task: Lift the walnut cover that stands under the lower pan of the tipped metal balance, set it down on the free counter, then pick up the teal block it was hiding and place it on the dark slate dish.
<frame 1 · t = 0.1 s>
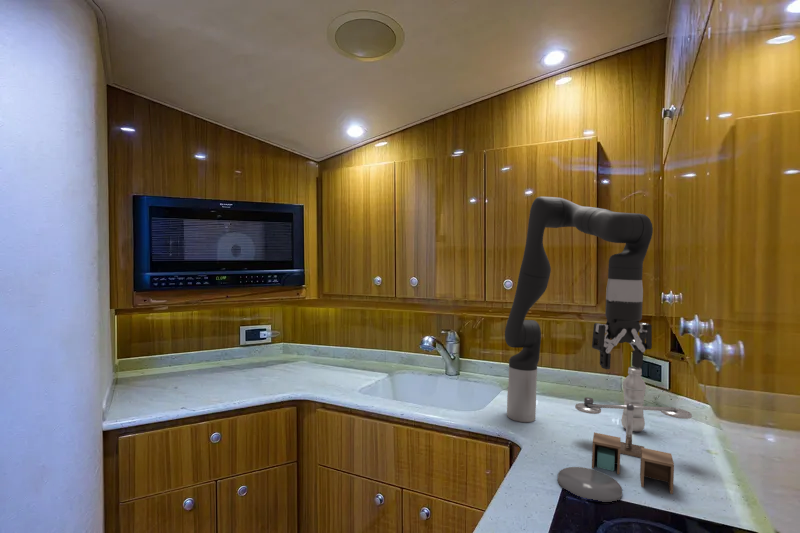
hand: (621, 367, 97), 29 cm above the worktop, tool pointing down, fingers open, 8 cm apart
slate dish: (588, 485, 99), on the worktop
empty cover: (655, 484, 101), on the worktop
balance: (628, 450, 119), on the worktop
plastic bottle: (632, 430, 133), on the worktop
hiding cover: (605, 465, 110), on the worktop
teal block: (605, 466, 110), on the worktop
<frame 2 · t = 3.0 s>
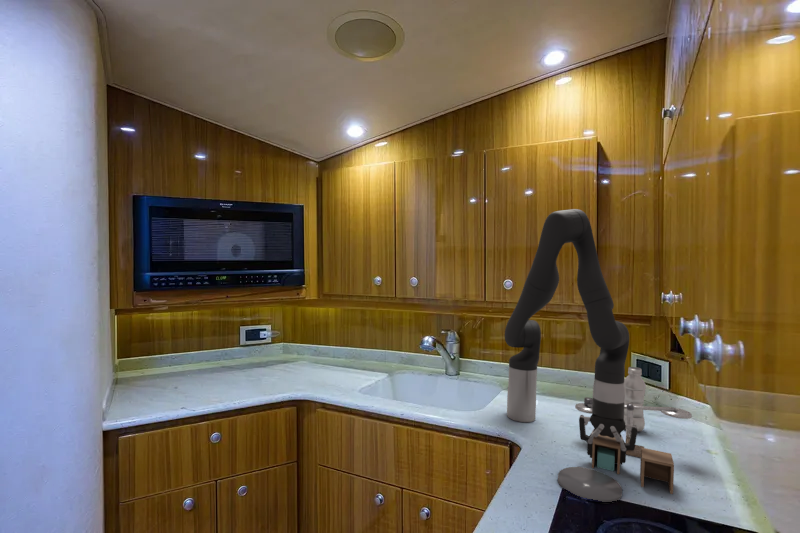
hand: (606, 460, 109), 2 cm above the worktop, tool pointing down, fingers closed on hiding cover, 6 cm apart
hiding cover: (605, 465, 110), on the worktop, touching gripper
everything else where it was.
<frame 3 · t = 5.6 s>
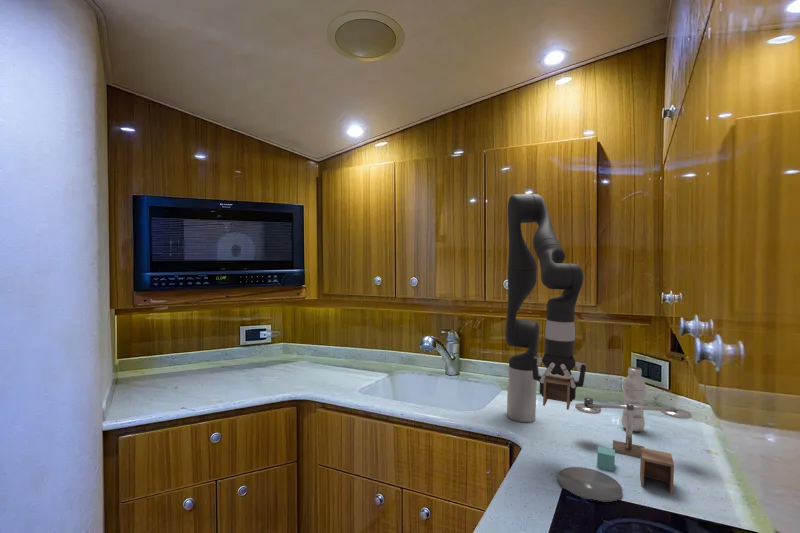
hand: (557, 398, 113), 16 cm above the worktop, tool pointing down, fingers closed on hiding cover, 6 cm apart
hiding cover: (556, 403, 113), point 15 cm above the worktop, touching gripper
everything else where it was.
when the fingers open (3 cm above the worktop, at t = 8.4 s): hiding cover drops 2 cm, on the worktop.
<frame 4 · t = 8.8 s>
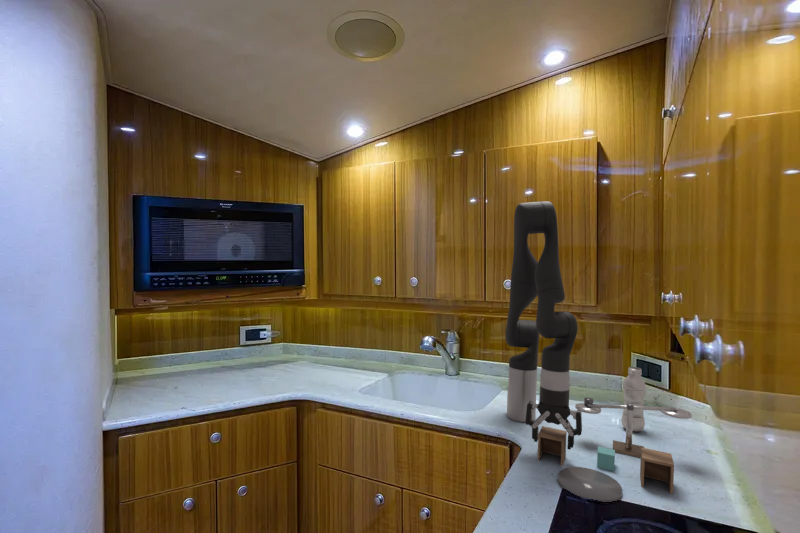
hand: (552, 444, 113), 4 cm above the worktop, tool pointing down, fingers open, 8 cm apart
hiding cover: (551, 458, 113), on the worktop
everything else where it was.
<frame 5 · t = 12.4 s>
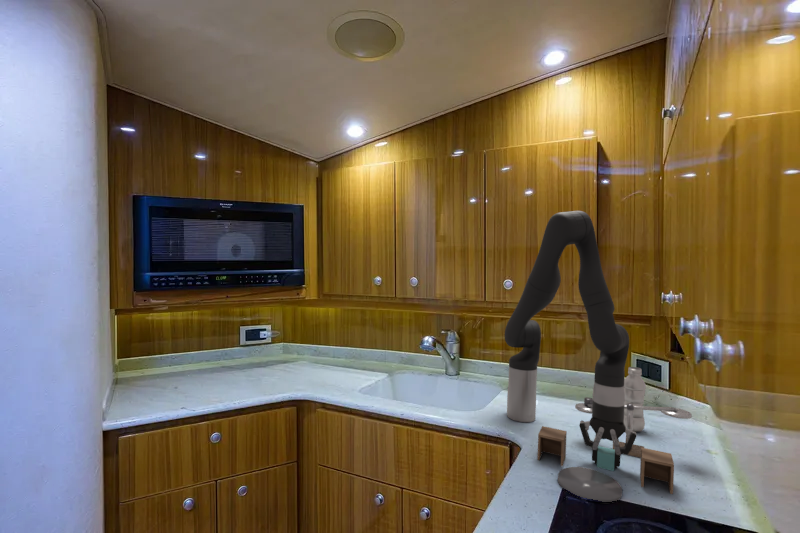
hand: (605, 464, 110), 0 cm above the worktop, tool pointing down, fingers closed on teal block, 4 cm apart
teal block: (605, 465, 110), on the worktop, touching gripper
everything else where it was.
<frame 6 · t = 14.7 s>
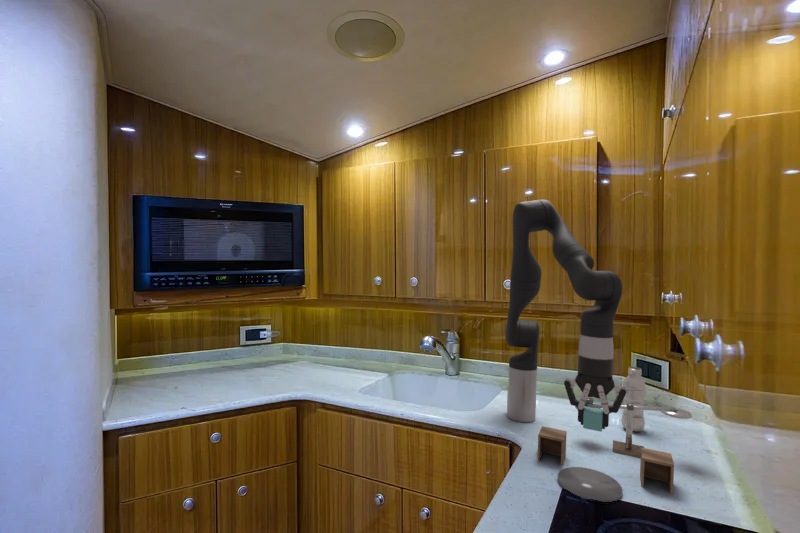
hand: (592, 425, 99), 15 cm above the worktop, tool pointing down, fingers closed on teal block, 4 cm apart
teal block: (592, 426, 99), point 14 cm above the worktop, touching gripper
everything else where it was.
when the fingers open (3 cm above the worktop, at t = 17.3 s): teal block drops 1 cm, resting on slate dish.
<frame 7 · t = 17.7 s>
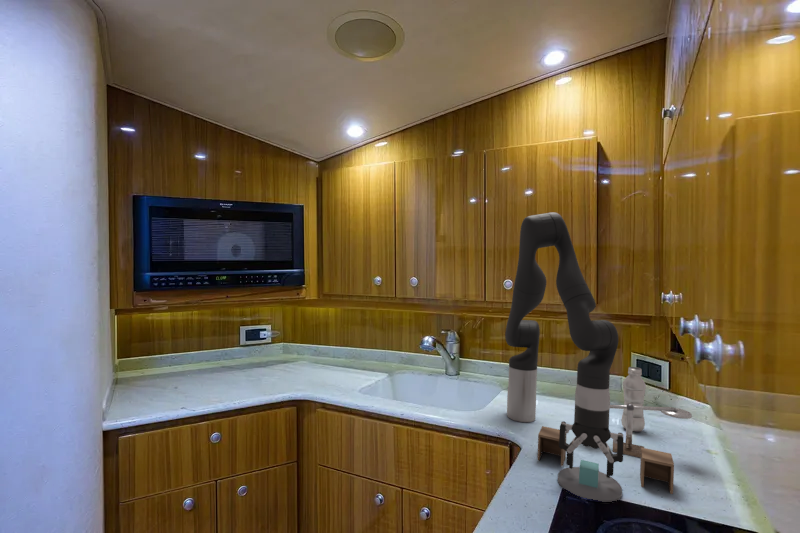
hand: (589, 471, 99), 3 cm above the worktop, tool pointing down, fingers open, 7 cm apart
teal block: (588, 481, 99), point 1 cm above the worktop, touching slate dish
everything else where it was.
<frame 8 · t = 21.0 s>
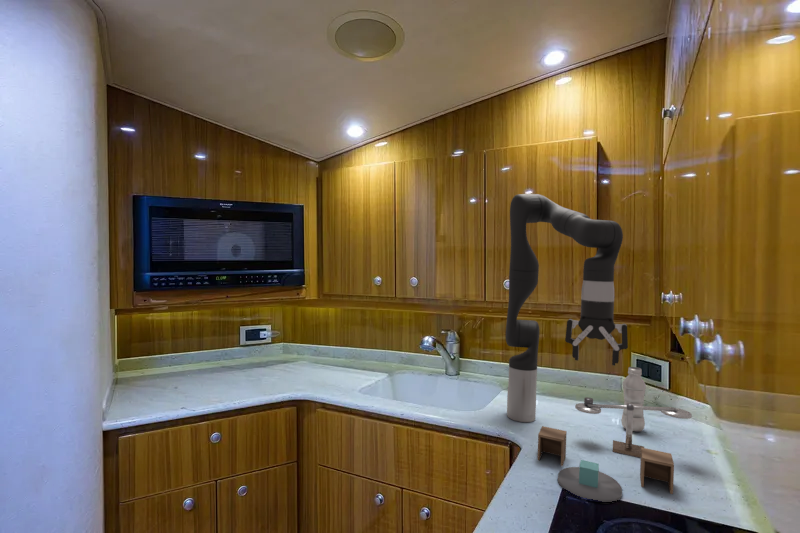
hand: (594, 362, 106), 28 cm above the worktop, tool pointing down, fingers open, 8 cm apart
nothing on the worktop moved.
at the end: teal block inside the target area on the slate dish (0.1 cm from its centre), point 1.0 cm above the slate dish's base; the gripper is holding nothing; hiding cover moved 13.5 cm from its start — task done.
